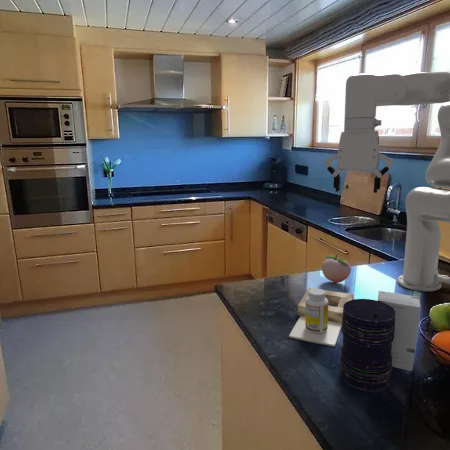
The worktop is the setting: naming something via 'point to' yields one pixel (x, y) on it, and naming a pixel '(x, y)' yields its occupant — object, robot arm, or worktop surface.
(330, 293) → the socket block
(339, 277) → the decorative fruit
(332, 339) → the pad
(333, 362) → the worktop surface
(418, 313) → the skincare box
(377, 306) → the dark blue cylinder
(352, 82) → the robot arm
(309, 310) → the supplement bottle
